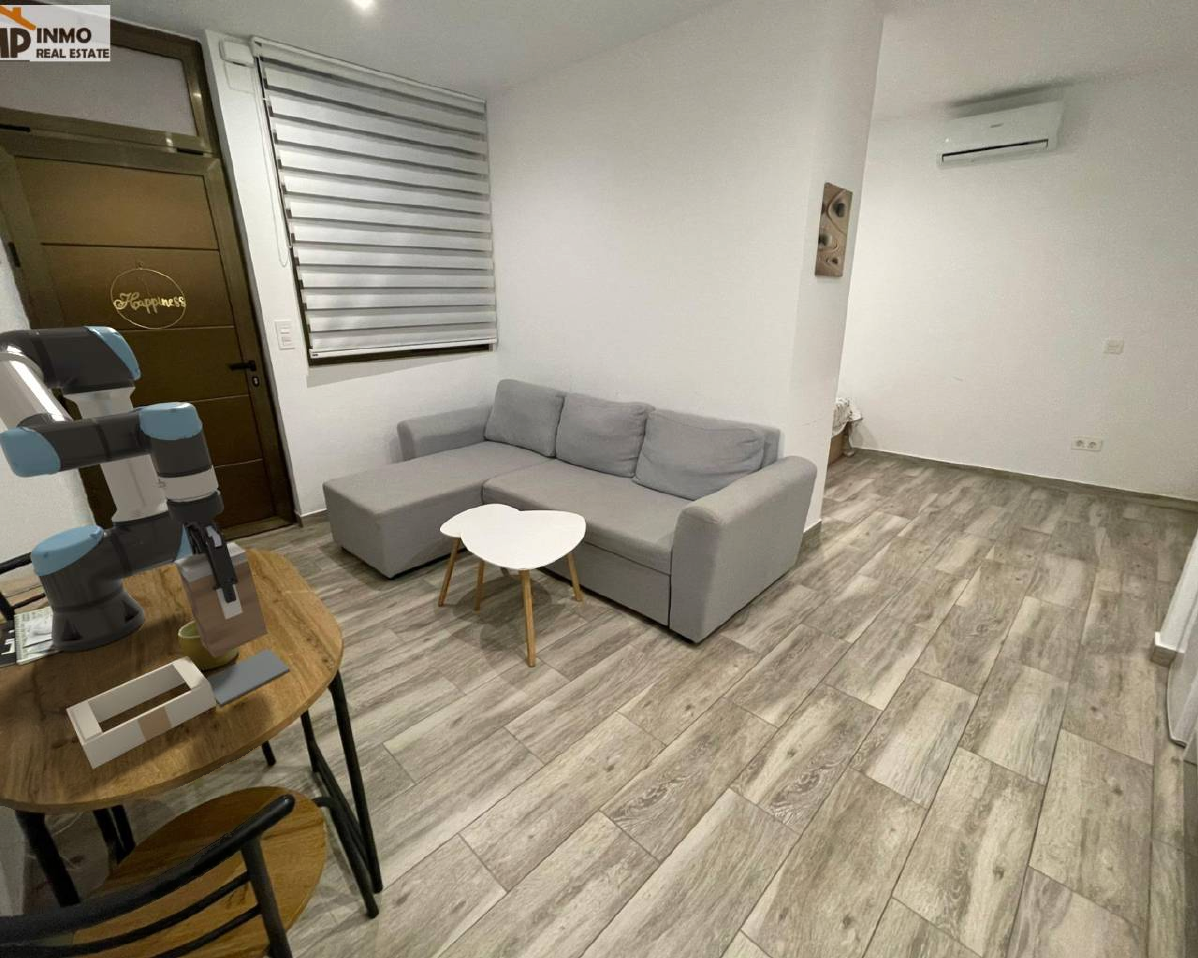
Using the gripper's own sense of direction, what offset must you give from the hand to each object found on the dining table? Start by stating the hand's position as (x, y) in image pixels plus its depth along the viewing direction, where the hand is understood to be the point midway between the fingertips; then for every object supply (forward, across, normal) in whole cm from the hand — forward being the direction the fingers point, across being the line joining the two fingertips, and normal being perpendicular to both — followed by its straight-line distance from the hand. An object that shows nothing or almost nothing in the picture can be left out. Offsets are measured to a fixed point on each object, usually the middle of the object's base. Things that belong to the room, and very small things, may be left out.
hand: (226, 608), depth 98 cm
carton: (+16, -2, -15) cm, 22 cm away
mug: (+16, -12, -1) cm, 20 cm away
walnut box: (+7, 0, 0) cm, 7 cm away
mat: (+16, 0, 0) cm, 16 cm away
